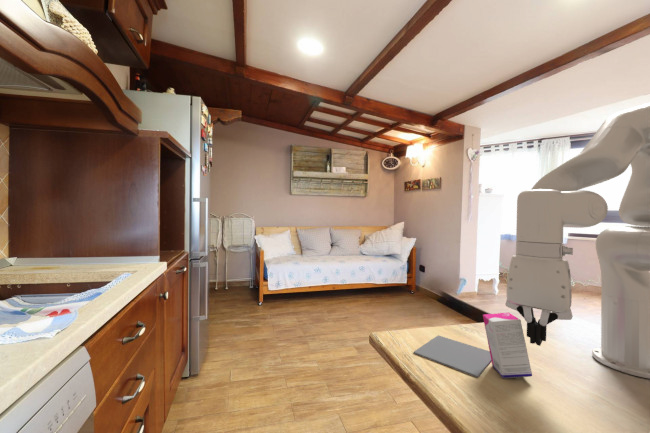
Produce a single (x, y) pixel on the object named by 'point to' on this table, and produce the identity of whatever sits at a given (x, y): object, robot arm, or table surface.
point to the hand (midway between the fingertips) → (536, 342)
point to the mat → (456, 355)
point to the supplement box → (507, 345)
